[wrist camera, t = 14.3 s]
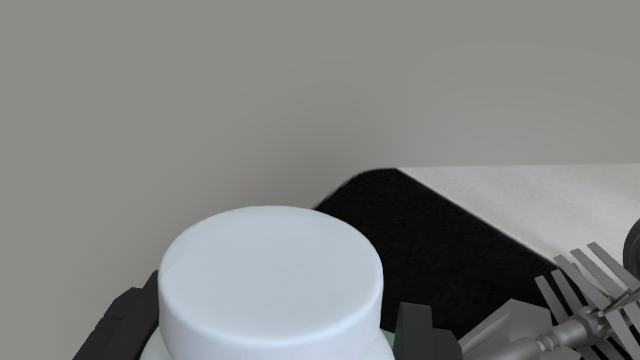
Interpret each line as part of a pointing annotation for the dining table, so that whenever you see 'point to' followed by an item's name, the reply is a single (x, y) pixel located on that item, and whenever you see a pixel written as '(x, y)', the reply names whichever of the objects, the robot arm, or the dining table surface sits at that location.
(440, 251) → the dining table surface
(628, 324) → the spaceship
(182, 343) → the supplement bottle
